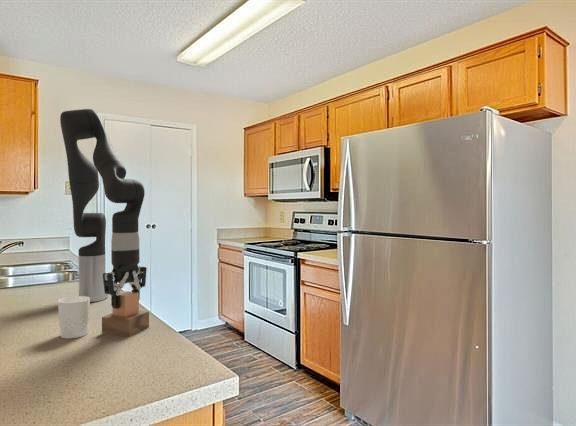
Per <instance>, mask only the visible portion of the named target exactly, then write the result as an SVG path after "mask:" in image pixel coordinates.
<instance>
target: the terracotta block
mask: <svg viewBox="0 0 576 426" xmlns="http://www.w3.org/2000/svg"><path fill="white" fill-rule="evenodd" d="M119 295H120V308H118V309H115V308H113V307H112V313H113V315H115V316H121V317H127V316H131V315H134V314H137V313H139V311H140V308H139V307H140V304H139V303H140V299H139V293H138V292H132V291H130V290H128V291H127V290H125V291H120V294H119Z"/></svg>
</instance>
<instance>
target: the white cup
mask: <svg viewBox="0 0 576 426" xmlns="http://www.w3.org/2000/svg"><path fill="white" fill-rule="evenodd" d="M90 305H91V302H90V297H87V296H79V295H76V296H69V297H64V298H60V299H58V300H57V308H58V310H57V311H58V321H59V333H60V338H62V339H66V340H67V339H77V338H81V337H84V336H86V335H88V333H89V325H90Z"/></svg>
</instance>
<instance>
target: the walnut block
mask: <svg viewBox="0 0 576 426" xmlns="http://www.w3.org/2000/svg"><path fill="white" fill-rule="evenodd" d="M149 327H150V311H149V310H139V313H137V314H134V315H131V316H127V317H121V316H115V315H113V312H111V313H109V314H106V315H104V316H102V317H101V334H103V335H113V336H121V337H131V336H134V335H135V334H137V333H140V332H142V331H143V330H146V329H147V328H149Z"/></svg>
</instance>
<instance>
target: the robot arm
mask: <svg viewBox="0 0 576 426" xmlns="http://www.w3.org/2000/svg"><path fill="white" fill-rule="evenodd" d="M59 119H60V120H59V121H60V128H61V134H62V138H63V139H62V140H63V143H64V148H65V153H66V160H67V161H66V162H67V170H68V172H67V173H68V182H69V188H70V195H71V201H72V215H73V216H72V218H73V219H72V220H73V230H74V234H75V235H76V236H77V237H78V238H95V240H94V241H93V242H91V243H90V244H88V245H87V244H86V245H83V246H82V247H79V248H78V296H87V297H90V303H94V302H101V301H104V300H105V299H108V297H109V295H110V298H111V299H110V300H111V307H112V309H113V308H115V309H118V308H120V295H119V294H120V292H122V289H123V288H124V287H125V285H126V284H128V285H130V288H131V292H138V293H139V300H140V299H141V297H140V295H141V294H140V293H141V292H140V291H141V289H142V288H145V287H146V281H147V267H146V266H139V265H138V264H139V263H140V261H141V260H140V235H139V217H140V214H141V210H142V206H143V202H144V200H145V194H146V193H145V192H146V191H145V187H144V185H143V183H142V182H141V181H140V180H138V179H131V178H129V179H128V178H126V175H127V169H126V168H125V165H124V164H123V163H122V161H121V160H120V158H119V156H118V155H117V154H116V151H115V150H114V148H113V146H112V143H111V140H110V138H109V136H108V133H107V131H106V128H105V126H104V123H103V122H102V120H101V118H100V116H99V114H98V113H97V111H96V110H94V109H91V108H82V109H73V110H72V109H71V110H64V111H63V112H61V113H60V118H59ZM94 138H95V139H96V144H95V147H94V149H93V153H92V161H93V162H92V161H91V160H90V159H89V158H88V157H87V156H86V155H84V153H83V152H82V151H81V150H80V148H79V145H78V141H80V140H88V139H94ZM99 176H100V177H101V180H102V185H103V190H104V191H103V192H104V195H105V197H106V199H107V200H108V201H110V202H111V203H113V204H125V207H124V209H123V210H121V211H116V212H114V213H113V214H112V217H111V221H112V222H111V224H112V225H111V227H112V231H111V232H112V233H111V234H112V235H111V240H110V241H111V247H110V248H111V250H110V251H111V255H110V256H111V265H112V270H111V271H110V272H106V271H107V270H106V232H107V231H106V230H107V219H106V215H105V214H104V213H102V212H84V211H85V209H86V207H87V205H89V202H90V201H92V199H93V198H94V196H95V195H96V194H97V193H98V191H99V188H100V179H99Z"/></svg>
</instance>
